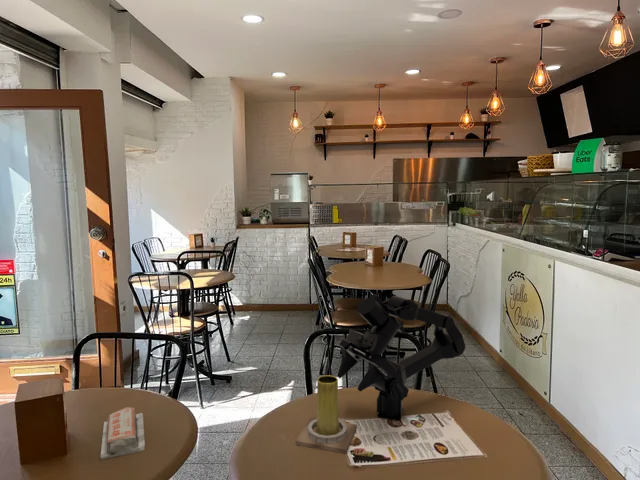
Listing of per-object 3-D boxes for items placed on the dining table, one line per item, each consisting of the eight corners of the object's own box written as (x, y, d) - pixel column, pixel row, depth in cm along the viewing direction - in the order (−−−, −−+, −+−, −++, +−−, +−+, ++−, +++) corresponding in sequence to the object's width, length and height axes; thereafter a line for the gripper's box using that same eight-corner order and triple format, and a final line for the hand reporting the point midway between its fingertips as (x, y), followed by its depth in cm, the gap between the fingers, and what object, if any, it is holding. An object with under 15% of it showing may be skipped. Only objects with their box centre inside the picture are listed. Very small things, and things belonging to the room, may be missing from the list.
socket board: (356, 428, 117) (357, 419, 117) (346, 453, 106) (346, 443, 105) (310, 420, 121) (310, 412, 121) (295, 444, 110) (295, 435, 109)
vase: (343, 435, 112) (343, 381, 110) (321, 440, 109) (321, 386, 108) (333, 424, 117) (333, 372, 116) (312, 428, 115) (312, 376, 113)
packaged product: (144, 433, 107) (99, 443, 103) (145, 452, 108) (100, 462, 104) (142, 401, 123) (103, 408, 119) (143, 417, 124) (104, 425, 120)
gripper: (344, 310, 124) (311, 356, 120) (387, 327, 108) (351, 380, 104) (366, 332, 129) (335, 377, 125) (410, 352, 113) (377, 403, 109)
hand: (348, 383), depth 115 cm, fingers open, 9 cm apart
